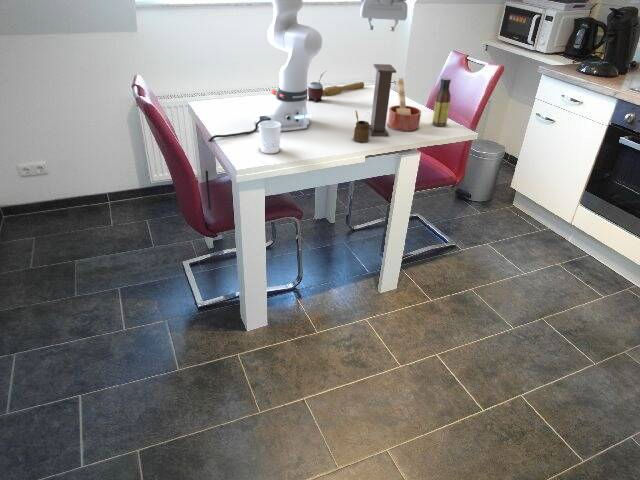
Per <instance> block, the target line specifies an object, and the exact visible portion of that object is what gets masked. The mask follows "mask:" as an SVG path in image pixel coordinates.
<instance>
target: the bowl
mask: <svg viewBox="0 0 640 480" xmlns="http://www.w3.org/2000/svg"><path fill="white" fill-rule="evenodd" d="M397 108H400V107H399V104H398V105H397V104H396V105H392V106H390V107H388V114H387V125H388V127H389V128H391V129H393V130H397V131H400V132H413V131H415V130H417V129H419V127H420V122H421V116H422V110H421V109H419V108H417V107H416V106H415V107H414V106H411V105H406V108H408V109H410V111H411V115H404V114H399V113H396V109H397Z"/></svg>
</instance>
